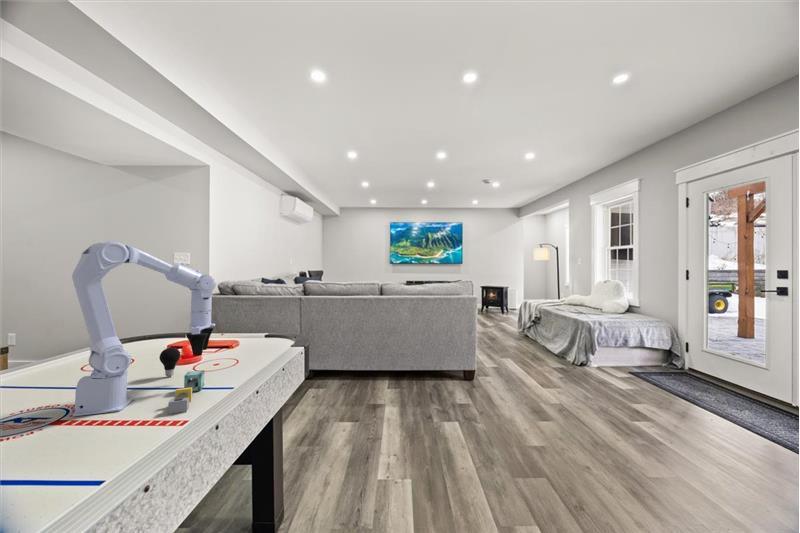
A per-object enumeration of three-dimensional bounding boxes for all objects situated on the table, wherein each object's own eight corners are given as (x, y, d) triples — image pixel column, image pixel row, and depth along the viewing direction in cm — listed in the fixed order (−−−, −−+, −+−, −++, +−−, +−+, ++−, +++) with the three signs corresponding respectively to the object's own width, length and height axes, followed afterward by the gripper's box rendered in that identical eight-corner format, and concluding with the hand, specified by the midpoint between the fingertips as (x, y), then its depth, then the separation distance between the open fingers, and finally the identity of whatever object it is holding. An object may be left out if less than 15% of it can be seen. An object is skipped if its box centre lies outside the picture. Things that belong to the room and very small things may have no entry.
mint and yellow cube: (184, 391, 93) (184, 375, 93) (187, 387, 97) (188, 371, 97) (201, 390, 95) (201, 374, 95) (204, 385, 99) (204, 370, 99)
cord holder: (186, 411, 81) (187, 395, 81) (168, 414, 79) (168, 397, 79) (204, 385, 100) (204, 371, 100) (189, 386, 99) (190, 372, 99)
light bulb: (184, 374, 110) (184, 346, 111) (170, 380, 105) (171, 350, 105) (168, 373, 111) (169, 345, 111) (154, 379, 105) (155, 349, 105)
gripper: (210, 313, 97) (209, 357, 97) (219, 308, 111) (218, 346, 110) (184, 314, 95) (183, 359, 94) (195, 309, 108) (194, 348, 108)
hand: (200, 352), depth 102 cm, fingers open, 7 cm apart
